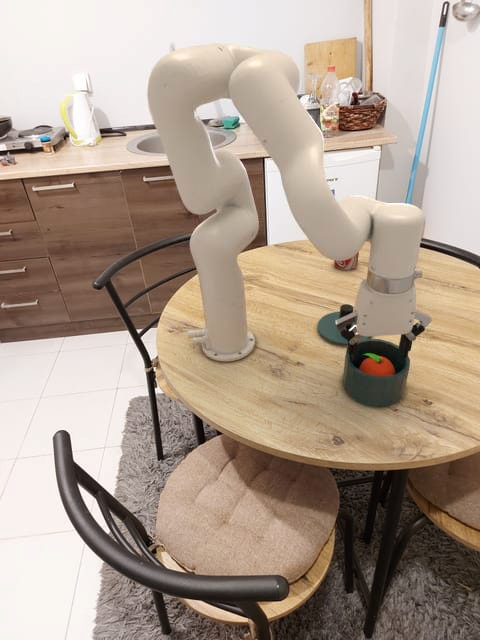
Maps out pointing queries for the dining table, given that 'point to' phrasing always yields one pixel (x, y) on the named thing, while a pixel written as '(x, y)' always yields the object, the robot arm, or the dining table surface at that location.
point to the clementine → (377, 366)
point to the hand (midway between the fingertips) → (377, 354)
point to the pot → (376, 387)
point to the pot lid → (329, 327)
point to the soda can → (347, 263)
